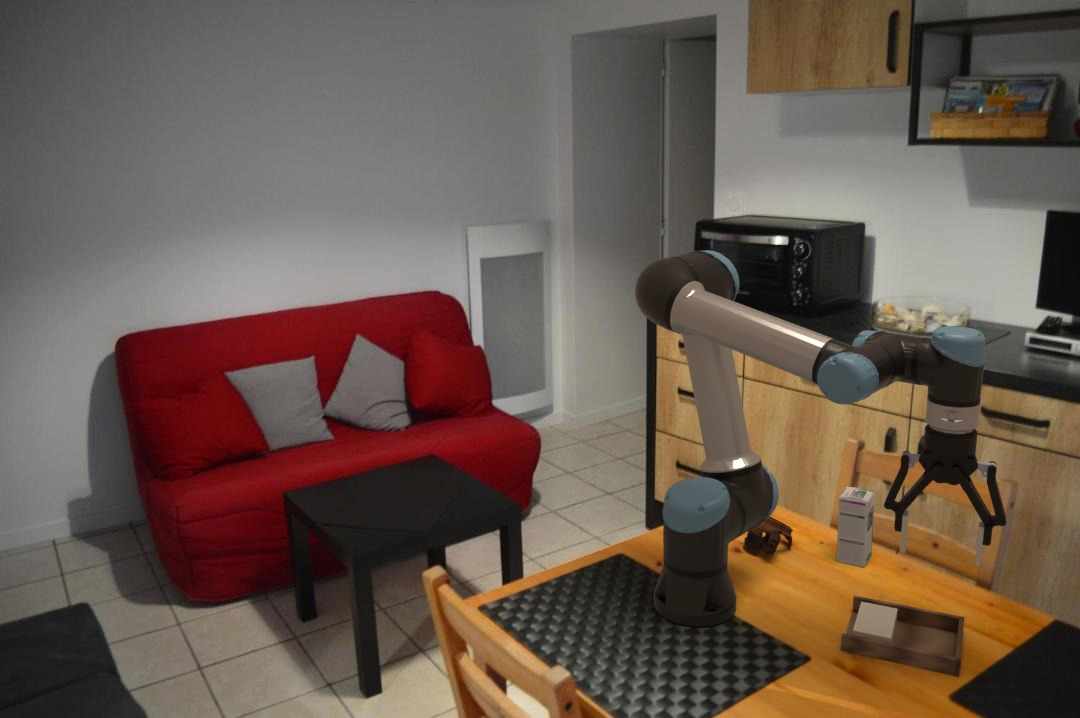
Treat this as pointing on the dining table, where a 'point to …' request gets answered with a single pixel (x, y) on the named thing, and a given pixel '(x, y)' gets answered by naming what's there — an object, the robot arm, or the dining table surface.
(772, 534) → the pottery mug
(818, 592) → the dining table surface
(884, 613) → the light grey block
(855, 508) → the syrup box
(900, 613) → the walnut box
